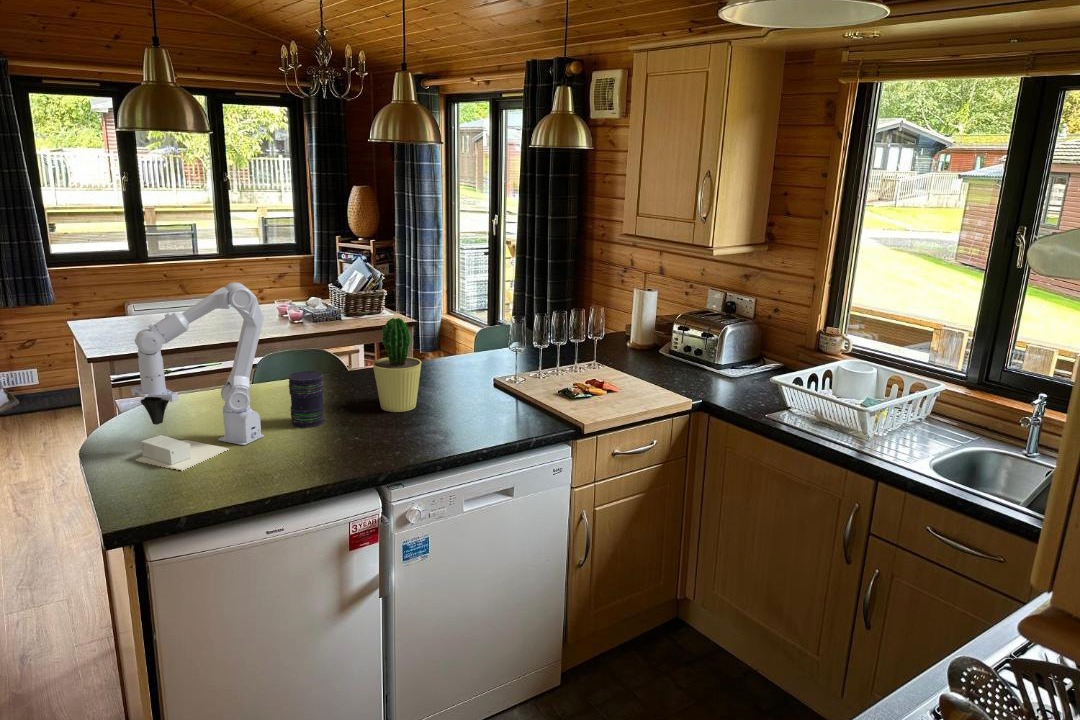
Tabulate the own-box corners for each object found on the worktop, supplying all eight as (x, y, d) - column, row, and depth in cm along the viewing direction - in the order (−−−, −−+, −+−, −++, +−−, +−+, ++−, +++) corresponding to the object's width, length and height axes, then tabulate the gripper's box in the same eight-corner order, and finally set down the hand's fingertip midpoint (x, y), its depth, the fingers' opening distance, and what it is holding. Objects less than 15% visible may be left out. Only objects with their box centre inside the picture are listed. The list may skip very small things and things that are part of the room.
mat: (229, 450, 204) (228, 448, 204) (182, 471, 190) (181, 469, 190) (184, 441, 210) (184, 439, 210) (135, 461, 195) (135, 459, 195)
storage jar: (315, 429, 221) (312, 381, 217) (285, 426, 223) (281, 378, 219) (331, 418, 230) (328, 372, 227) (301, 416, 232) (298, 369, 228)
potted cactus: (427, 400, 250) (425, 312, 242) (415, 415, 235) (413, 321, 228) (382, 398, 252) (379, 310, 244) (367, 412, 237) (364, 319, 229)
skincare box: (142, 456, 198) (170, 465, 192) (140, 440, 196) (169, 450, 191) (163, 449, 203) (191, 458, 197) (161, 434, 202) (190, 443, 196)
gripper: (118, 375, 196) (125, 423, 200) (160, 381, 191) (165, 432, 194) (141, 368, 202) (147, 416, 206) (182, 375, 197) (187, 423, 201)
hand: (157, 423), depth 201 cm, fingers closed
